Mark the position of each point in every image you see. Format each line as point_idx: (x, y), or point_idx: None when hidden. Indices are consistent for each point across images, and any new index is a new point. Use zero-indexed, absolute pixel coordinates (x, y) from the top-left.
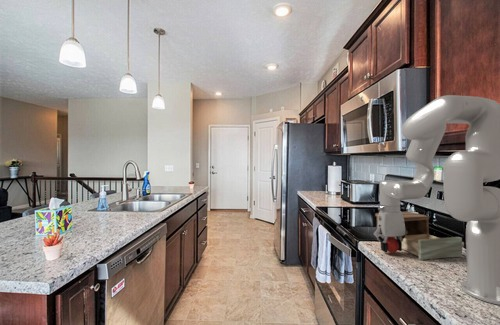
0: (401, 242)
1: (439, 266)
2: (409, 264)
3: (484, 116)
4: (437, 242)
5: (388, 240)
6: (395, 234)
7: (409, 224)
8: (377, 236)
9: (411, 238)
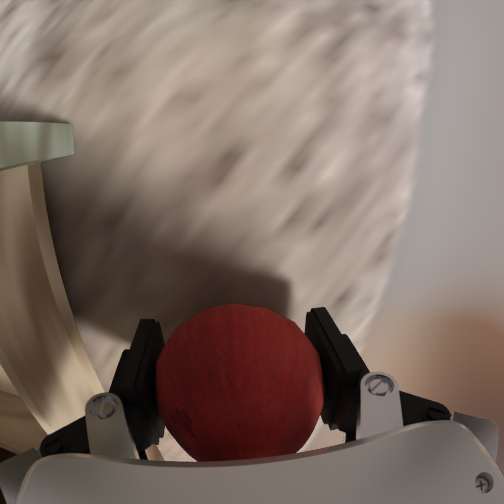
0: (119, 382)
1: (44, 21)
2: (256, 53)
3: None
4: None
5: (311, 414)
6: (261, 493)
7: (4, 498)
8: (466, 419)
9: (7, 426)
